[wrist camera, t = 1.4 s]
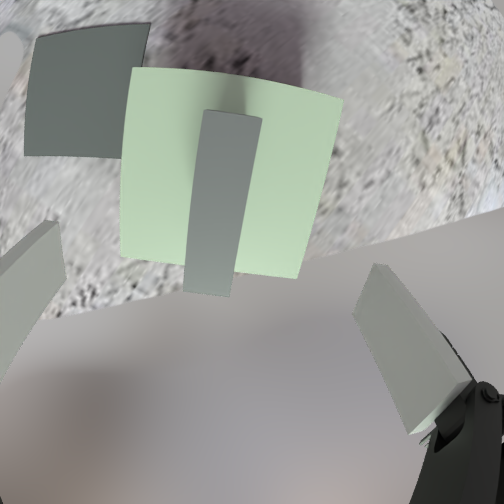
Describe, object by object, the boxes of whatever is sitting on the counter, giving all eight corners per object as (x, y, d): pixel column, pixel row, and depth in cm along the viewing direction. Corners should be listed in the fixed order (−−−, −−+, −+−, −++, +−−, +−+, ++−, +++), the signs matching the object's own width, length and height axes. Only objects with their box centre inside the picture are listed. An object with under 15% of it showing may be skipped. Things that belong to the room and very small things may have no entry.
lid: (136, 68, 19) (88, 53, 11) (339, 99, 21) (394, 101, 13) (123, 251, 26) (89, 310, 19) (294, 273, 29) (316, 336, 21)
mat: (37, 38, 23) (36, 38, 22) (150, 24, 25) (149, 23, 25) (25, 155, 31) (24, 156, 30) (130, 158, 33) (128, 159, 33)
